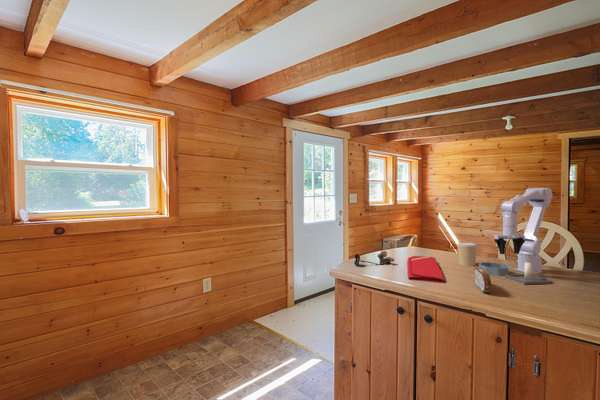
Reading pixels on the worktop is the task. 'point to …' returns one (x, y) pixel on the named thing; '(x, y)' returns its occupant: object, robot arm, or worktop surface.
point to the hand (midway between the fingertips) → (509, 253)
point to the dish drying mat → (424, 269)
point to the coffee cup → (467, 253)
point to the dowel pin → (527, 271)
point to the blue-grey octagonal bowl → (495, 268)
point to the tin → (483, 280)
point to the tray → (534, 280)
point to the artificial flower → (381, 256)
